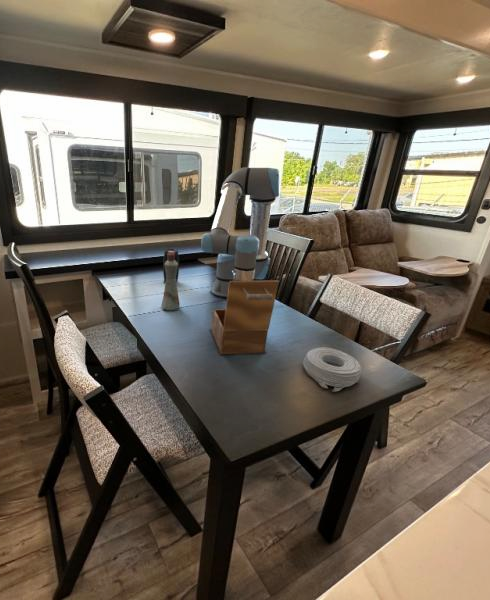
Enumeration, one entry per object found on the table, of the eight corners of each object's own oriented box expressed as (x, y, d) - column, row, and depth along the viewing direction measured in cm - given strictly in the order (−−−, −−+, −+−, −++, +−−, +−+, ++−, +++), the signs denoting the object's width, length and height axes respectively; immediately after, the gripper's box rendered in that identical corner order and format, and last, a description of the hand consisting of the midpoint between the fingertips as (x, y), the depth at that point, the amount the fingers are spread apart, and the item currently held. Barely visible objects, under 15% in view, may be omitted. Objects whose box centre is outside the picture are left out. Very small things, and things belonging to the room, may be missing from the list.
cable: (331, 396, 95) (335, 380, 92) (290, 365, 110) (293, 350, 107) (370, 382, 101) (375, 367, 99) (327, 354, 116) (330, 340, 114)
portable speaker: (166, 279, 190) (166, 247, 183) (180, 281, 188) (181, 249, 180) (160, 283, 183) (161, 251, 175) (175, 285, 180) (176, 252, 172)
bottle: (157, 307, 152) (157, 251, 141) (170, 302, 158) (171, 248, 147) (170, 313, 146) (171, 255, 135) (183, 307, 152) (184, 251, 141)
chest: (211, 330, 132) (212, 309, 128) (249, 329, 133) (251, 308, 130) (221, 354, 115) (223, 331, 111) (264, 353, 116) (268, 330, 113)
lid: (229, 280, 102) (235, 291, 95) (278, 280, 103) (287, 290, 97) (223, 329, 111) (227, 342, 105) (267, 328, 113) (275, 341, 106)
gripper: (225, 269, 124) (221, 317, 133) (242, 291, 103) (236, 347, 112) (243, 268, 125) (238, 317, 134) (264, 291, 103) (256, 346, 112)
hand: (237, 331), depth 123 cm, fingers open, 11 cm apart
